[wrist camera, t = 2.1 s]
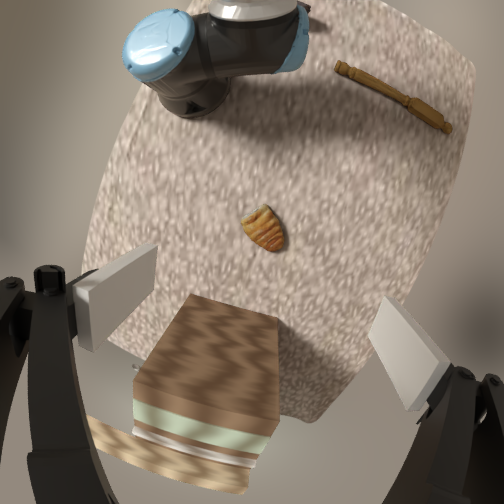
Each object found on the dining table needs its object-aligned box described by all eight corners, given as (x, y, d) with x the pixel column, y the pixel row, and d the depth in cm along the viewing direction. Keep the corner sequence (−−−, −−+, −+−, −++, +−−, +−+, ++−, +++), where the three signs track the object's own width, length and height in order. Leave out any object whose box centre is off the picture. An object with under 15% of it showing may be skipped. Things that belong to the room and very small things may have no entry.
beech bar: (80, 420, 36) (71, 434, 32) (77, 409, 35) (67, 422, 31) (244, 477, 36) (242, 494, 32) (249, 469, 35) (247, 487, 31)
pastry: (292, 238, 55) (293, 242, 51) (265, 257, 56) (265, 262, 53) (264, 200, 53) (264, 202, 50) (237, 220, 55) (235, 223, 51)
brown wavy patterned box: (177, 370, 66) (135, 461, 36) (190, 293, 59) (129, 385, 29) (249, 391, 66) (237, 490, 36) (277, 317, 59) (279, 428, 29)
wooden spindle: (339, 57, 42) (455, 124, 42) (336, 62, 45) (448, 126, 45) (335, 68, 43) (453, 135, 43) (332, 73, 46) (446, 137, 46)
